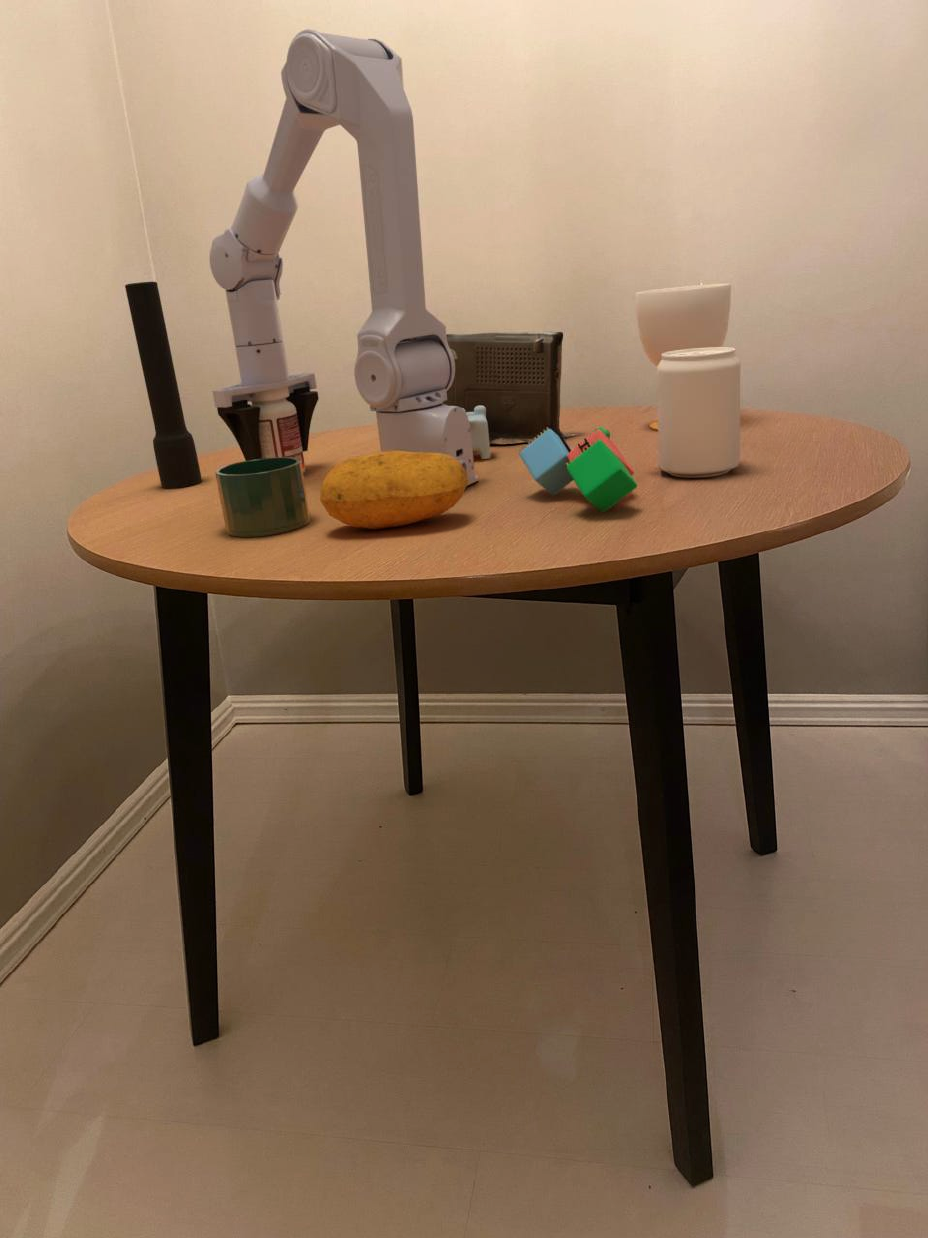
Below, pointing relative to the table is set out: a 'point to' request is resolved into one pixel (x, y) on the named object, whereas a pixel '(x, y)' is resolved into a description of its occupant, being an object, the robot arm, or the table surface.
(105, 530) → the table surface
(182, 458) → the flashlight
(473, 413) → the figurine
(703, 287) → the cup
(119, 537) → the table surface
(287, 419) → the pill bottle
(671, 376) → the beverage can
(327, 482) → the potato
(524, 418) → the radio
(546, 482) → the building blocks
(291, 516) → the green round pot
